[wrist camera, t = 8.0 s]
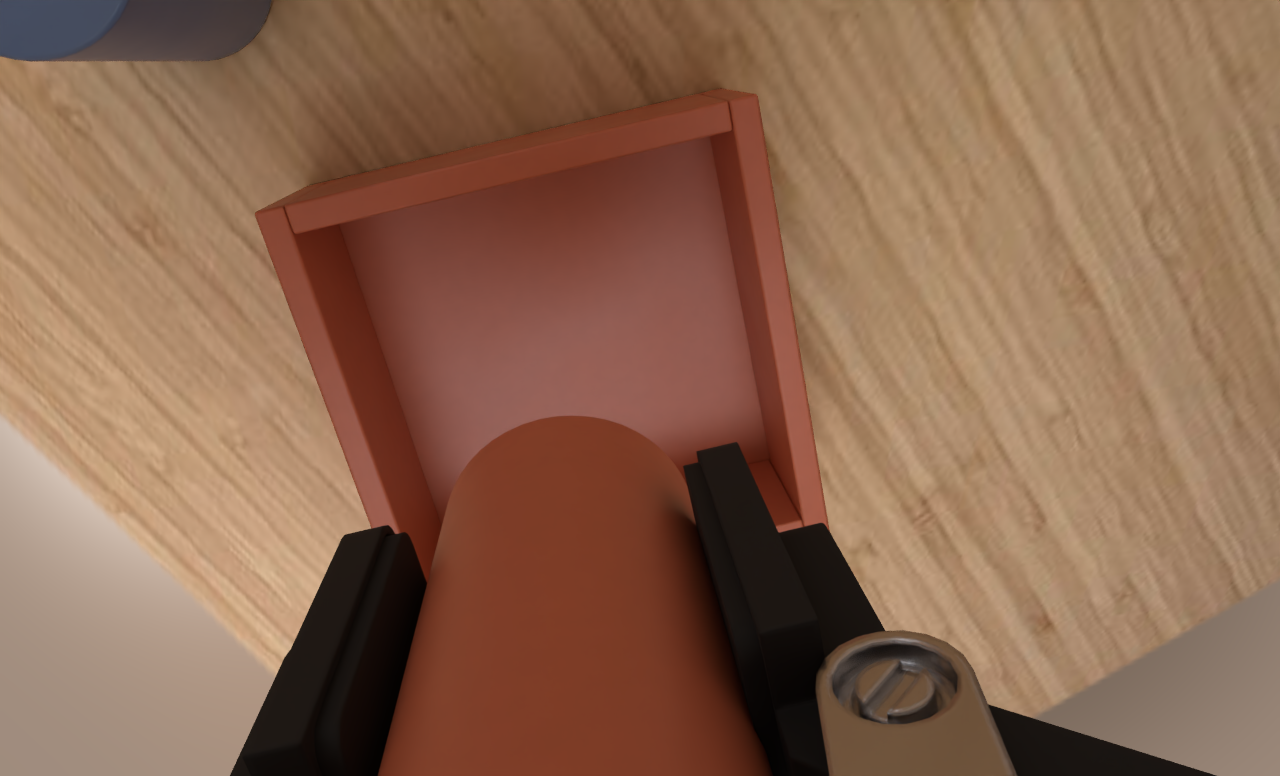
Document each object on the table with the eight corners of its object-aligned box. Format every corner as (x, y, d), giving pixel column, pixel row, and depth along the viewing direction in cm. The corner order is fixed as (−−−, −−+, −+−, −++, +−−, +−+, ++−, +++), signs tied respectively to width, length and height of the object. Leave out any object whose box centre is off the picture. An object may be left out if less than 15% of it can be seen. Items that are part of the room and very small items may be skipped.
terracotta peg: (485, 656, 14) (415, 1203, 7) (412, 446, 12) (246, 875, 6) (714, 601, 14) (854, 1098, 7) (666, 386, 12) (782, 750, 6)
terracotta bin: (432, 549, 25) (410, 636, 21) (305, 186, 21) (252, 212, 18) (790, 464, 25) (831, 535, 21) (723, 87, 21) (757, 93, 18)
